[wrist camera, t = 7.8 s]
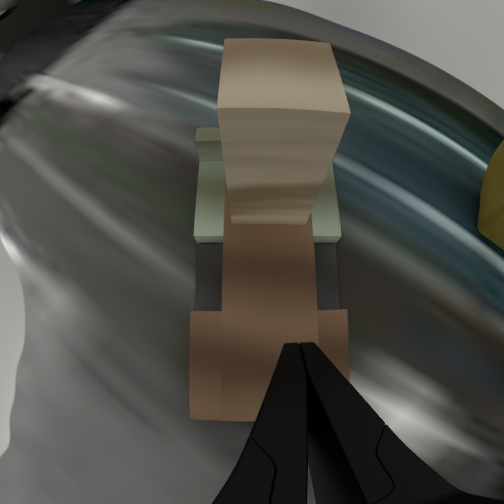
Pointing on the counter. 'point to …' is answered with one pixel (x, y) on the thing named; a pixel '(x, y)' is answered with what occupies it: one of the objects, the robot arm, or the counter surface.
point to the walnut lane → (257, 294)
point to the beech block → (278, 126)
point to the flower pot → (493, 200)
